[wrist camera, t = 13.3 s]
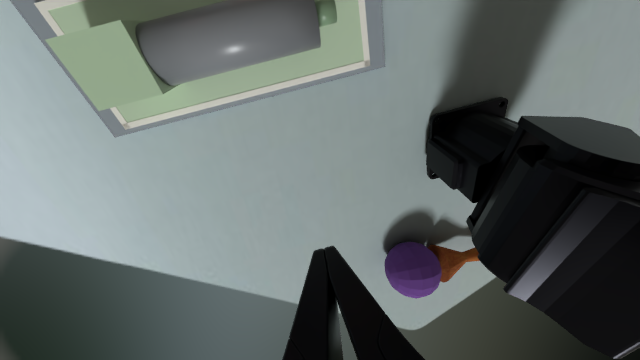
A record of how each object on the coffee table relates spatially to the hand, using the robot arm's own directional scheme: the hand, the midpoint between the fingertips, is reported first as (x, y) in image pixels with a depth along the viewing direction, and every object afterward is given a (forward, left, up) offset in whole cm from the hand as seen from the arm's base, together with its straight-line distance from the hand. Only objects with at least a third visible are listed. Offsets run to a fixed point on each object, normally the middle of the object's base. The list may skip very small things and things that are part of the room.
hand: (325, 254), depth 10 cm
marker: (+3, -8, -11) cm, 14 cm away
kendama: (-15, +19, -12) cm, 27 cm away
